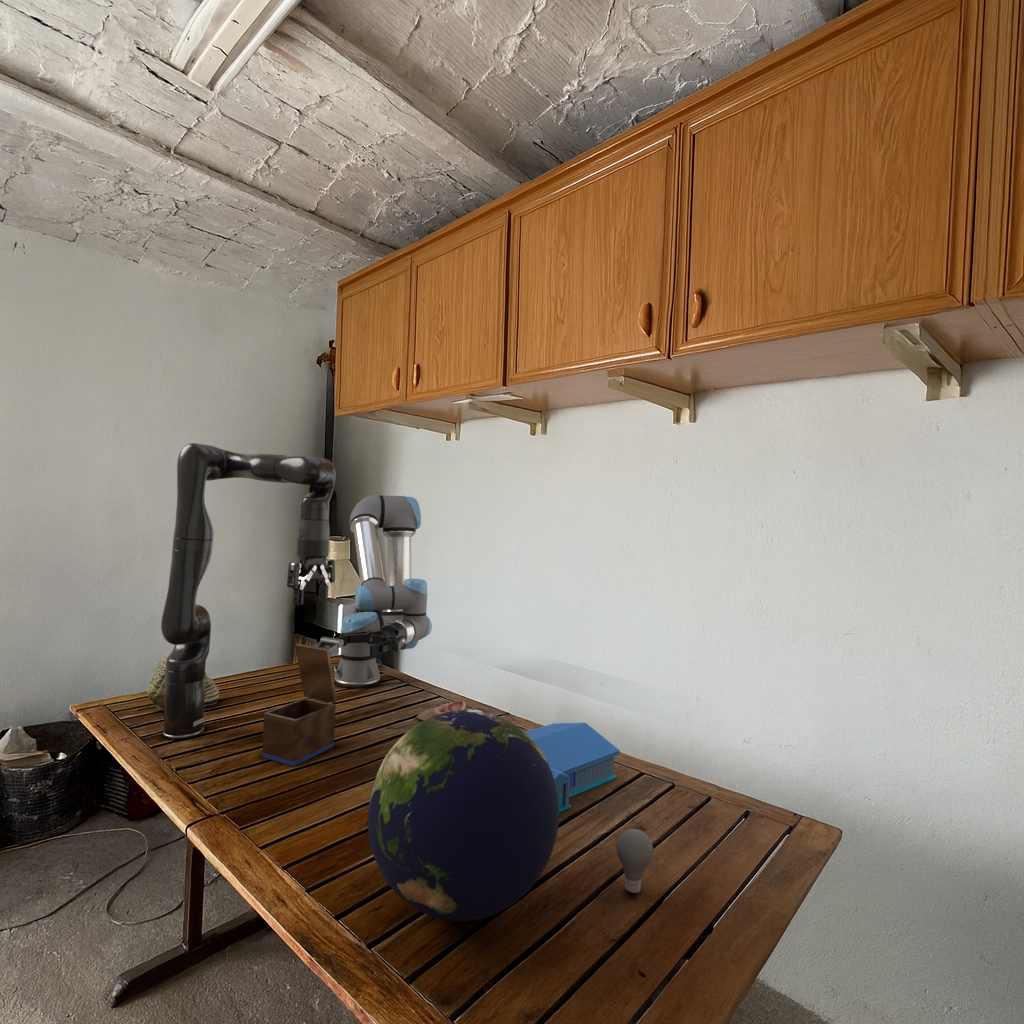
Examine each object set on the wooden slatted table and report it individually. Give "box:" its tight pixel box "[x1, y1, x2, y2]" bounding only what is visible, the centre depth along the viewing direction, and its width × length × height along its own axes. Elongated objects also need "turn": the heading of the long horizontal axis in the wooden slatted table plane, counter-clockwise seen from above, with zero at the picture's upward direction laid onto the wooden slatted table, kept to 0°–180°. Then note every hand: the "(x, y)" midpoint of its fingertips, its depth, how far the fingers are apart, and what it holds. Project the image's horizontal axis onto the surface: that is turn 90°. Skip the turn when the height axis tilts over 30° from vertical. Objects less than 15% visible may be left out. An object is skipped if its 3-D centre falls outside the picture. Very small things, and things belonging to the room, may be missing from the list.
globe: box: [367, 709, 560, 922], centre depth 100 cm, size 30×30×30 cm
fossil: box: [147, 654, 221, 712], centre depth 185 cm, size 9×18×15 cm, turn 132°
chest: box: [261, 697, 337, 767], centre depth 156 cm, size 14×10×11 cm
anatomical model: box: [416, 700, 466, 722], centre depth 185 cm, size 13×4×12 cm
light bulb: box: [615, 828, 654, 894], centre depth 106 cm, size 6×6×10 cm
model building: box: [524, 722, 621, 813], centre depth 143 cm, size 39×24×10 cm, turn 132°
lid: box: [294, 636, 344, 704], centre depth 164 cm, size 15×10×9 cm
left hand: (311, 602), depth 158 cm, fingers open, 8 cm apart
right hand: (350, 647), depth 173 cm, fingers open, 13 cm apart
